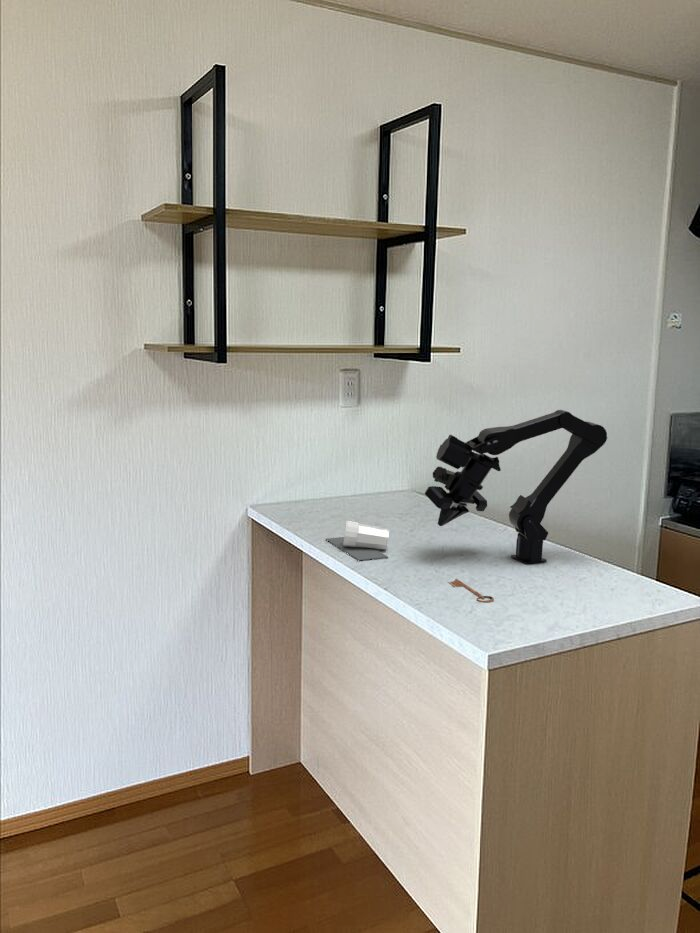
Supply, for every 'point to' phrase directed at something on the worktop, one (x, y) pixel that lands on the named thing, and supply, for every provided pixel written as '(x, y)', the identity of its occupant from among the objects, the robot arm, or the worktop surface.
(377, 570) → the worktop surface
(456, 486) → the robot arm
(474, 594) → the key
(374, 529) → the cup
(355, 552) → the mat
